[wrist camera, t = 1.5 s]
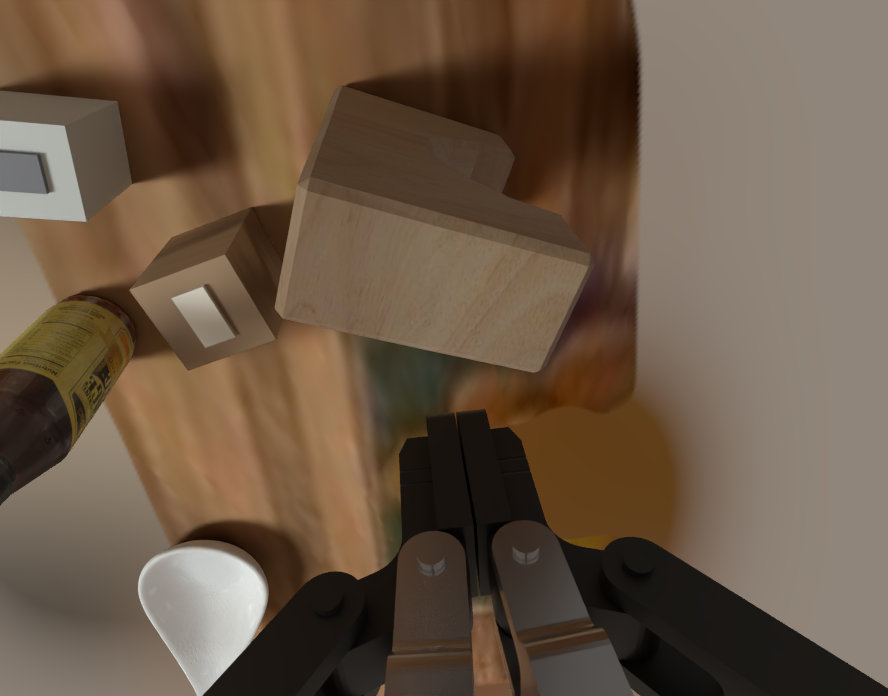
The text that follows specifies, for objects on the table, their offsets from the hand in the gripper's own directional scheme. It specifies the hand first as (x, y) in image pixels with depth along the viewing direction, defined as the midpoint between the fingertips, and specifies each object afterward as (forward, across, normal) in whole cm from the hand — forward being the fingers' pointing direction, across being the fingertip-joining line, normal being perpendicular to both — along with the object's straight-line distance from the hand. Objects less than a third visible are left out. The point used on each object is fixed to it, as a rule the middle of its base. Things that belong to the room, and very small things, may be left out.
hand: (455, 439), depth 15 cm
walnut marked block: (+28, +13, +6) cm, 31 cm away
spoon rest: (+28, +24, +43) cm, 57 cm away
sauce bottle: (+28, +24, +10) cm, 38 cm away
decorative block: (+28, 0, 0) cm, 28 cm away
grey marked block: (+28, +21, -3) cm, 35 cm away
